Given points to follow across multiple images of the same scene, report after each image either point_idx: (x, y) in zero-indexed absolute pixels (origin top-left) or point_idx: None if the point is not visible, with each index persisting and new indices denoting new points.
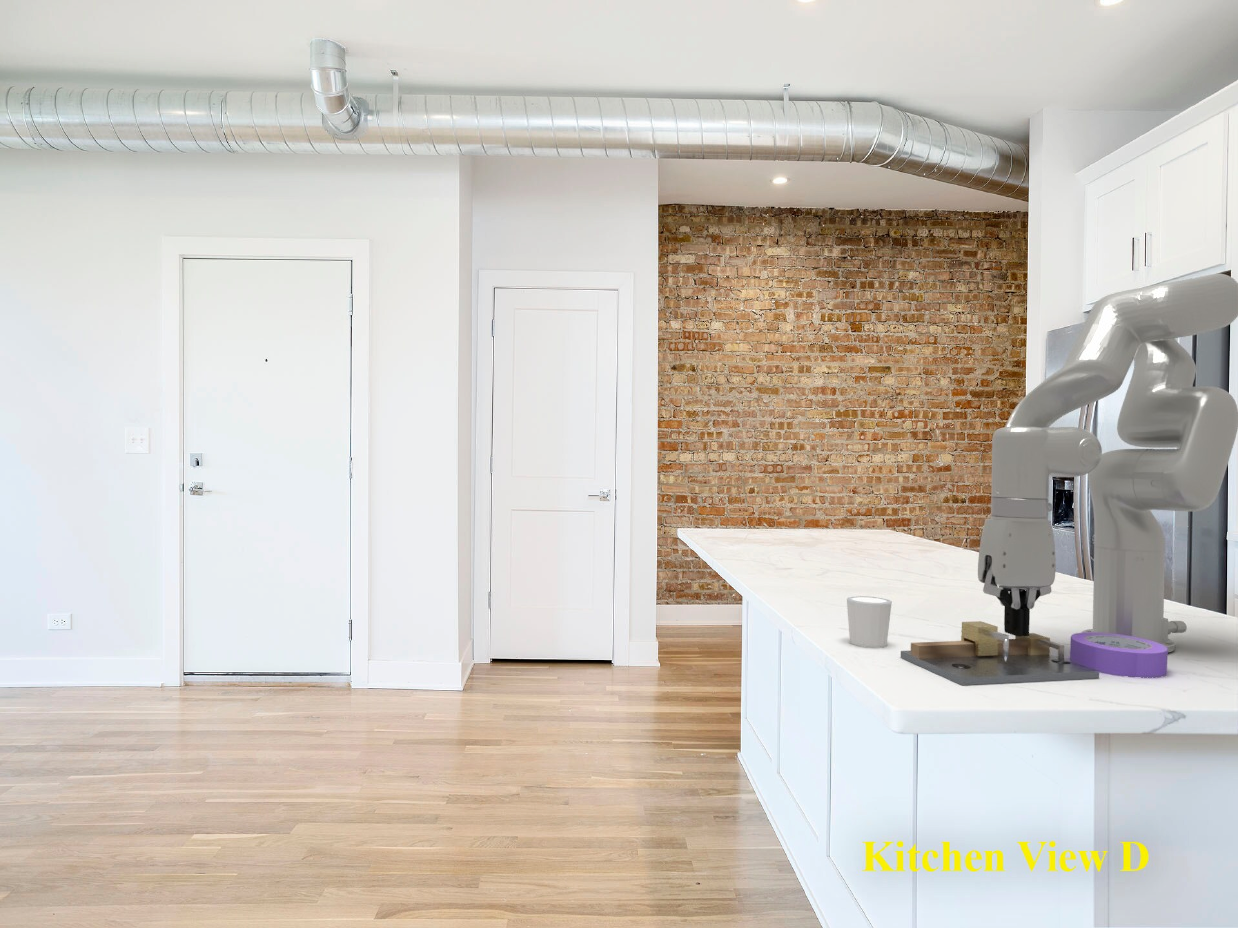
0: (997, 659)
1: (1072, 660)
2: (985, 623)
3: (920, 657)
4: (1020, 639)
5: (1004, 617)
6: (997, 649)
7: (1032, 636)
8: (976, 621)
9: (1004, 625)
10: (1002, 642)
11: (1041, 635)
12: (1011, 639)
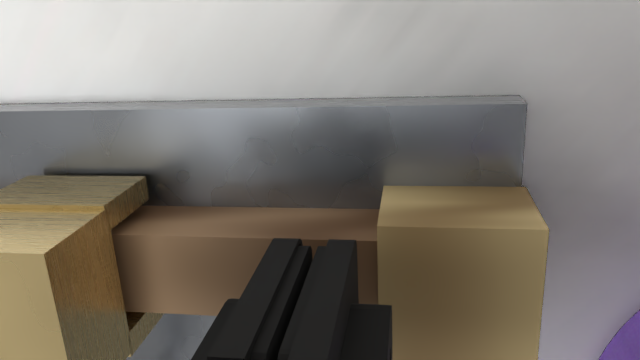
0: (146, 337)
1: (615, 350)
2: (41, 326)
3: None
4: (377, 263)
5: (205, 336)
6: (152, 326)
7: (443, 314)
8: (6, 253)
9: (229, 299)
10: (201, 307)
11: (540, 304)
12: (313, 253)
